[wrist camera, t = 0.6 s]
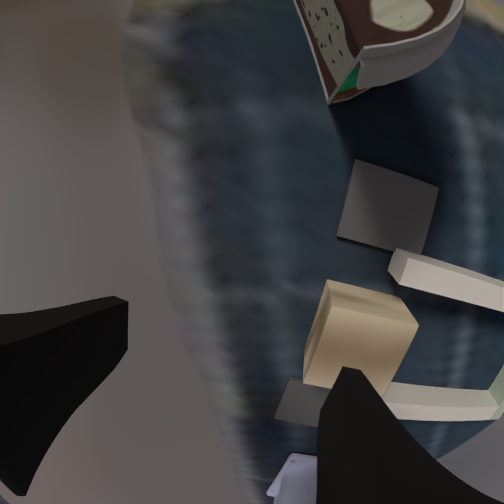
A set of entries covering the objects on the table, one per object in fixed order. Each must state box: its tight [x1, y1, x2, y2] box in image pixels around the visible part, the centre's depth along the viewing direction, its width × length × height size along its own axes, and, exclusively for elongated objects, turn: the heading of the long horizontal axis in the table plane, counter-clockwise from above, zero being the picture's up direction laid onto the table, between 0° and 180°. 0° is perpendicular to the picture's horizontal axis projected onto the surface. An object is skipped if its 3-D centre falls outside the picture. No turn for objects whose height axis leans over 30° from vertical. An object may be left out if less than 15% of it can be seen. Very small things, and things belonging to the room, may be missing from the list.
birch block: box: [303, 279, 419, 396], centre depth 16 cm, size 5×5×4 cm
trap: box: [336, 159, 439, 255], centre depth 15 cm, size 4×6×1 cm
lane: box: [380, 248, 504, 421], centre depth 15 cm, size 11×16×2 cm, turn 77°
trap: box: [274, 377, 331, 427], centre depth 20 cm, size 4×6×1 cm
